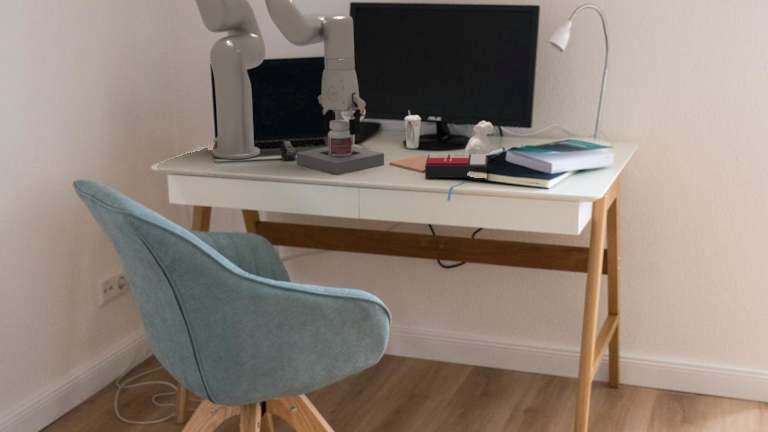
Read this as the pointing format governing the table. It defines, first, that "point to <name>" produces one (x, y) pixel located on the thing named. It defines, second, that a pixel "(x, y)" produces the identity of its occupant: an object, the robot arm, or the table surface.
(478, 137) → the bust
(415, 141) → the milkshake
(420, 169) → the tile
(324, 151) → the block
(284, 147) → the wristwatch
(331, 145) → the pill bottle
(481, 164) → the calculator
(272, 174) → the table surface
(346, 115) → the wineglass
